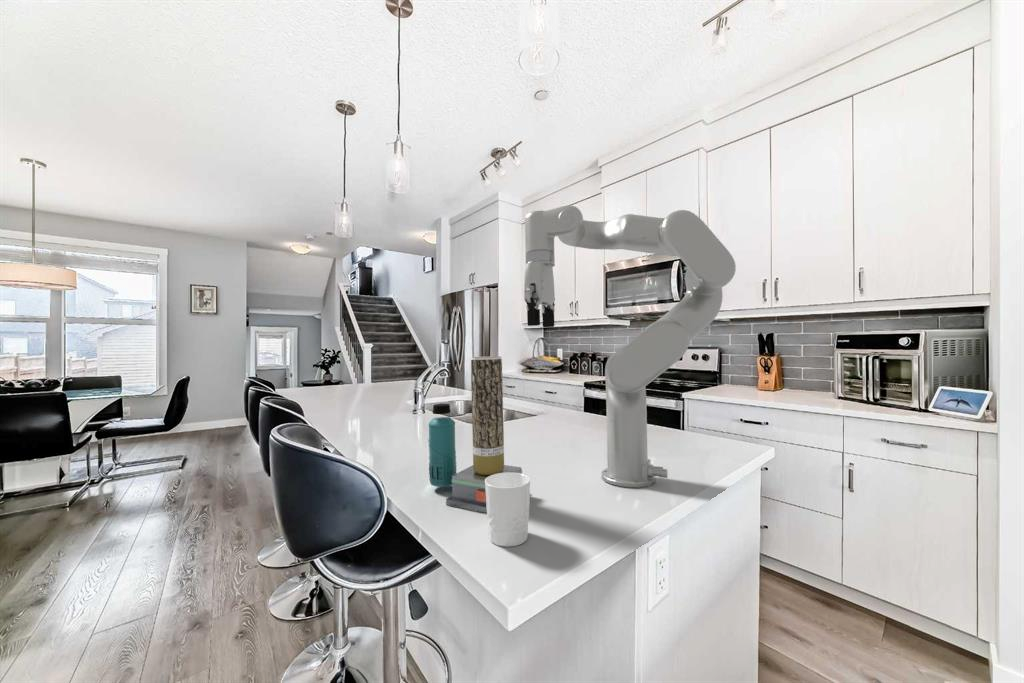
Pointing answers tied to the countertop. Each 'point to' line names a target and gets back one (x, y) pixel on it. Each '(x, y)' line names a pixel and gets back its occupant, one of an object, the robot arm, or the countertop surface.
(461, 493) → the stand
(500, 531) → the white cup
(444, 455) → the beverage bottle
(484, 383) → the paper tube
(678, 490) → the countertop surface
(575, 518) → the countertop surface
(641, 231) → the robot arm
